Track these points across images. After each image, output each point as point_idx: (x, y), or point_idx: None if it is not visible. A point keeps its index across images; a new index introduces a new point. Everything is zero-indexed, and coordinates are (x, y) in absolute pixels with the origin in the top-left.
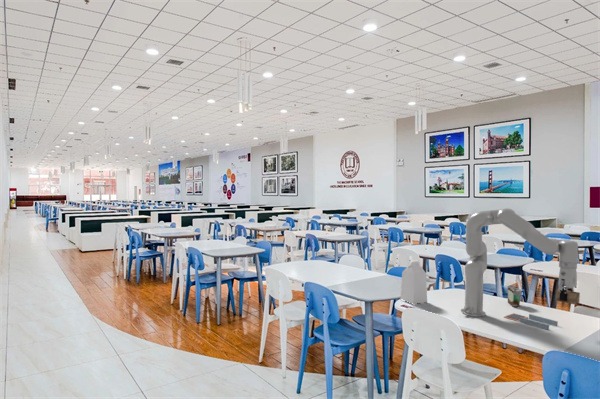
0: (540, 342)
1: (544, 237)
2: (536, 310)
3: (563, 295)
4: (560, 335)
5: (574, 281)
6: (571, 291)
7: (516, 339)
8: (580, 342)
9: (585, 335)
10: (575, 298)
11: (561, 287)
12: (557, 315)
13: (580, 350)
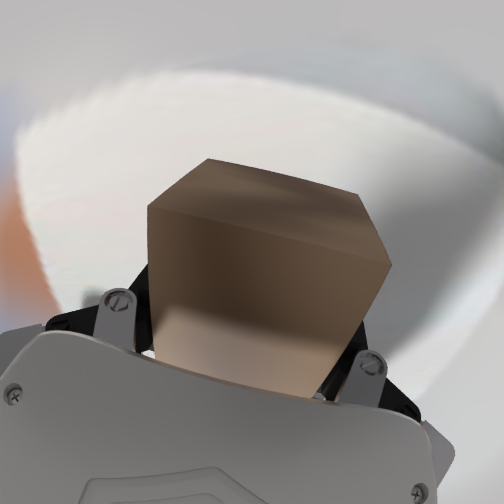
0: (485, 246)
1: None
2: (91, 295)
3: (361, 347)
4: (365, 187)
5: (127, 500)
6: (178, 314)
7: (481, 304)
8: (409, 106)
9: (271, 87)
10: (346, 217)
11: (453, 451)
12: (78, 235)
13: (498, 118)
